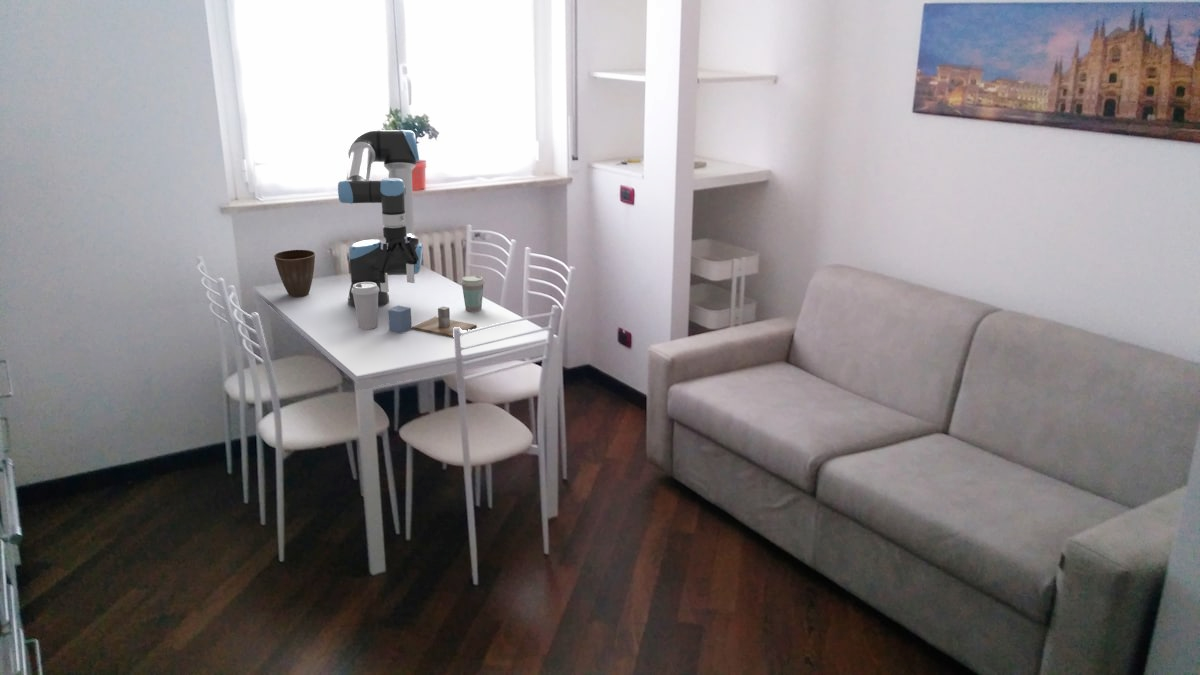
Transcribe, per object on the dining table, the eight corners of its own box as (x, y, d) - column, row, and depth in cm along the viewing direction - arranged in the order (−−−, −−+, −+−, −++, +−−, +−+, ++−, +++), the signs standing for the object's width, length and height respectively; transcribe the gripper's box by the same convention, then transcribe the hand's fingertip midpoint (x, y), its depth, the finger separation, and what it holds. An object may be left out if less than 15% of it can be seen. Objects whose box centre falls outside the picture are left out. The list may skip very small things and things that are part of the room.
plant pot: (302, 302, 346) (298, 260, 341) (269, 297, 351) (265, 256, 346) (326, 291, 359) (323, 251, 354) (294, 287, 364) (291, 248, 359)
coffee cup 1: (358, 321, 325) (355, 280, 320) (385, 322, 325) (382, 281, 320) (350, 330, 316) (347, 288, 311) (378, 331, 316) (375, 289, 311)
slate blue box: (389, 330, 316) (388, 309, 314) (399, 326, 321) (398, 305, 318) (401, 333, 314) (400, 311, 312) (411, 328, 319) (410, 307, 316)
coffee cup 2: (480, 313, 336) (479, 282, 332) (458, 311, 338) (457, 280, 334) (488, 306, 344) (487, 275, 340) (466, 305, 345) (465, 274, 342)
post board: (412, 329, 318) (411, 308, 316) (435, 318, 329) (434, 299, 327) (454, 337, 310) (453, 317, 308) (476, 327, 321) (475, 307, 319)
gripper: (378, 233, 293) (382, 297, 300) (426, 220, 314) (429, 280, 321) (360, 231, 297) (364, 294, 303) (409, 218, 317) (412, 277, 324)
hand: (398, 287), depth 312 cm, fingers open, 13 cm apart
